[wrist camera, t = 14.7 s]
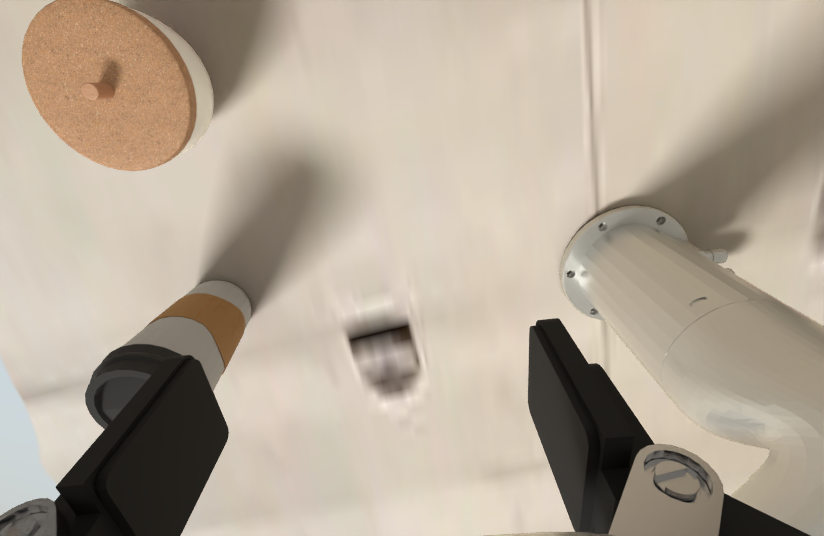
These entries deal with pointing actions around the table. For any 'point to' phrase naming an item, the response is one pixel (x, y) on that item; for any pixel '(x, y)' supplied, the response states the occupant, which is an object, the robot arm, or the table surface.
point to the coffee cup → (172, 345)
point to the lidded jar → (116, 83)
